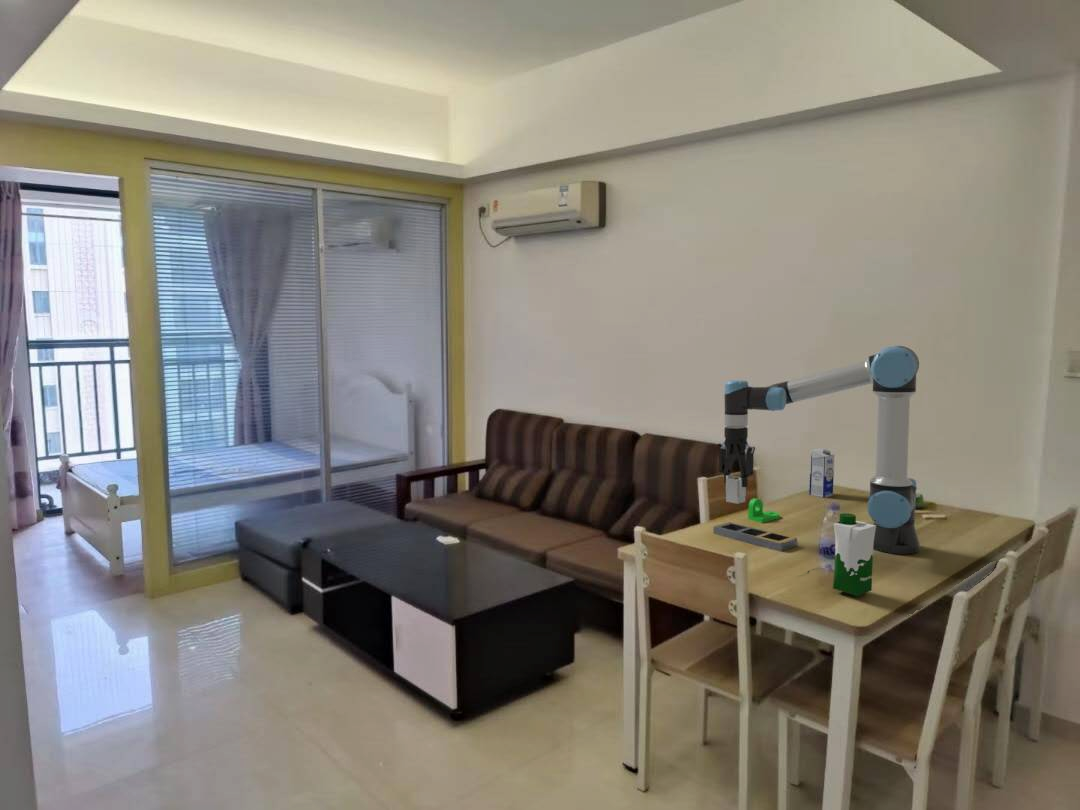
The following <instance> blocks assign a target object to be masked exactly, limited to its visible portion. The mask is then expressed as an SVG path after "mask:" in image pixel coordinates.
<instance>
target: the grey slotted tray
mask: <svg viewBox="0 0 1080 810" xmlns="http://www.w3.org/2000/svg"><path fill="white" fill-rule="evenodd" d="M712 529H713V530H712V531H713V532H712V533H713V534H714V535H718V536H721V537H725V538H727V539H730V540H731V539H732V540H735V541H739V542H743V543H748V544H751V545H755V546H759V547H763V548H766V549H770V550H774V551H778V552H783V551H786V550H789V549H792V548H795V547H797V546H798V537H796V536H791V535H787V534H785V533H784V534H783V533H779V532H775V531H768V530H765V529H759V528H756V527H750V526H747V525H743V524H739V523H735V522H731V521H730V522H725V523H721V524H718V525H715V526H713V528H712Z"/></svg>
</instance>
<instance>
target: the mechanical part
mask: <svg viewBox="0 0 1080 810" xmlns="http://www.w3.org/2000/svg"><path fill="white" fill-rule="evenodd" d="M763 507H764V505H763V501H762V499H758V498H755V497H754V498H752V499H750V500H749V502H748V513H747V514H748V515H747V519H748V520H750V521H753V522H757V523H760V524H762V523H766V522H771V521H770V520H772V521H775V520H774V519H776V520H778V518H779V519H780V513H779V512H778V511H777V512H775V511H772V510H767V511H763V510H764V509H763Z"/></svg>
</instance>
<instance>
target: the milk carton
mask: <svg viewBox="0 0 1080 810" xmlns="http://www.w3.org/2000/svg"><path fill="white" fill-rule="evenodd" d="M834 474H835V454H834V453H832V452H831V451H830V450H828V449H823V448H820V447H818V448H813V449H810V464H809V492H808V494H809V496H811V497H818V498H823V499H825V498H829V497H832V496H834Z"/></svg>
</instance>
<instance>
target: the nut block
mask: <svg viewBox="0 0 1080 810" xmlns="http://www.w3.org/2000/svg"><path fill="white" fill-rule="evenodd" d="M739 478H740V476H734V475H733V477H730V478H726V484H725V495H726V496H725V502H727V503H732V504H736V505H737V504H742V503H745V502H746V496H743V497H739Z"/></svg>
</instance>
